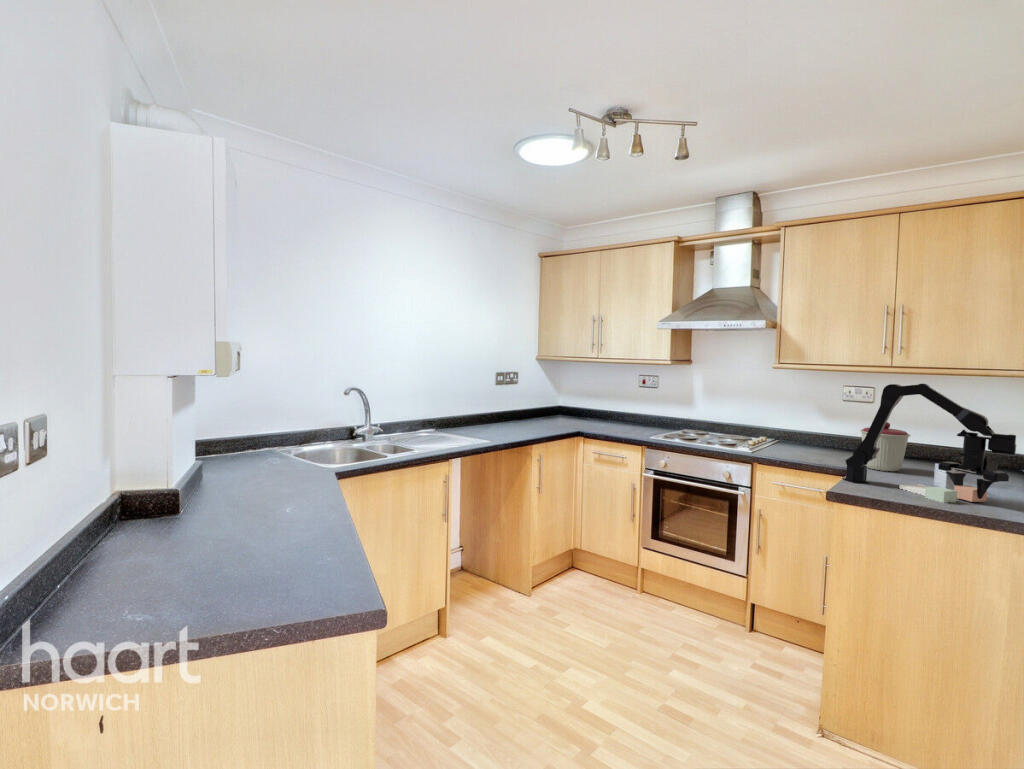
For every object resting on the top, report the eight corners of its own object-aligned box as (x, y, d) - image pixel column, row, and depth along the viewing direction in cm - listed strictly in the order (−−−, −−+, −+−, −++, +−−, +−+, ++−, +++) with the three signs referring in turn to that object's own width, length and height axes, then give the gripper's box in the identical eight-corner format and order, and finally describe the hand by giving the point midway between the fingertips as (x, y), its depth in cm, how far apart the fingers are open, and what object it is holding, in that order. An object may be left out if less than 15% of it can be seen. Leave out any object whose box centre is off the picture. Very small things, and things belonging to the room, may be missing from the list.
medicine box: (959, 491, 195) (961, 467, 195) (945, 489, 196) (947, 467, 196) (946, 486, 203) (948, 463, 202) (932, 485, 204) (934, 462, 203)
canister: (883, 474, 221) (887, 424, 220) (847, 465, 239) (850, 419, 238) (918, 473, 225) (922, 425, 224) (880, 465, 243) (884, 419, 242)
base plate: (925, 496, 185) (926, 491, 185) (899, 488, 194) (899, 484, 194) (948, 495, 187) (948, 491, 187) (920, 488, 197) (920, 484, 197)
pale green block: (943, 503, 176) (944, 491, 176) (924, 498, 182) (925, 487, 182) (956, 502, 178) (957, 491, 178) (937, 498, 184) (938, 486, 183)
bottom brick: (971, 501, 177) (972, 489, 176) (953, 496, 182) (954, 485, 182) (985, 501, 178) (986, 489, 178) (967, 496, 184) (968, 485, 183)
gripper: (1023, 456, 172) (1019, 503, 173) (963, 446, 190) (959, 488, 191) (997, 456, 169) (993, 504, 170) (938, 446, 188) (935, 489, 188)
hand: (969, 496), depth 180 cm, fingers closed on bottom brick, 6 cm apart
